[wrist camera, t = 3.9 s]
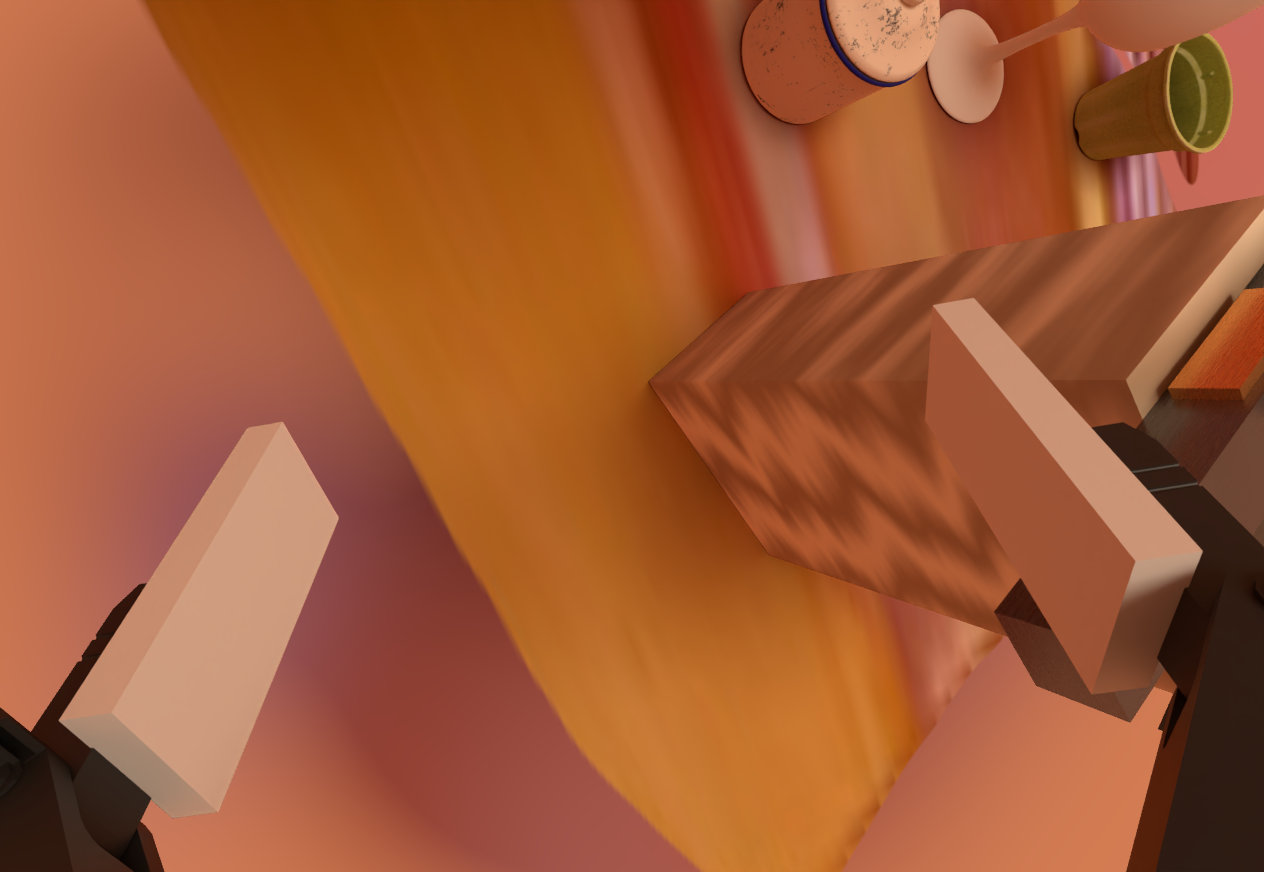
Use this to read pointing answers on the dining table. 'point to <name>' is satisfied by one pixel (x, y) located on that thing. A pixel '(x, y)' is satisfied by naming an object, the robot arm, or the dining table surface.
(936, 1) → the teacup with lid
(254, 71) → the dining table surface
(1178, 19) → the wineglass
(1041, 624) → the dark wood beam
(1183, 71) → the plant pot
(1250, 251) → the stand
